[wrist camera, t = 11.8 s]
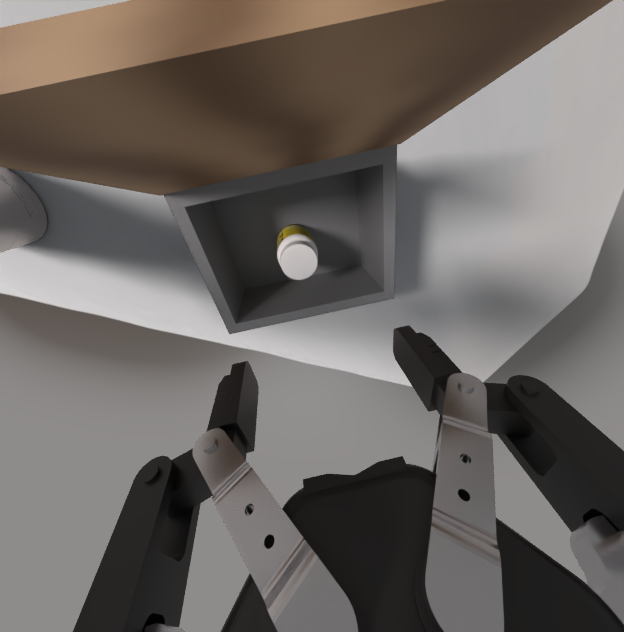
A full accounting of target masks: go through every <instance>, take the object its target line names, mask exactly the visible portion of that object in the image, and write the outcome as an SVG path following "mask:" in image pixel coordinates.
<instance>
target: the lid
mask: <svg viewBox="0 0 624 632" xmlns="http://www.w3.org/2000/svg"><path fill="white" fill-rule="evenodd" d="M611 1H612V0H131V1H126V2H122V3H117V4H112V5H107V6H103V7H98V8H93V9H88V10H84V11H79V12H74V13H69V14H65V15H60V16H55V17H50V18H46V19H41V20H36V21H31V22H27V23H22V24H17V25H12V26H8V27H3V28H0V167H4V168H10V169H15V170H21V171H26V172H32V173H38V174H43V175H49V176H54V177H60V178H65V179H71V180H76V181H82V182H88V183H93V184H99V185H104V186H110V187H115V188H121V189H127V190H132V191H138V192H143V193H149V194H154V195H164V194H169V193H174V192H178V191H183V190H187V189H192V188H197V187H201V186H206V185H211V184H215V183H220V182H225V181H229V180H234V179H239V178H243V177H248V176H253V175H257V174H262V173H267V172H271V171H276V170H281V169H285V168H290V167H295V166H299V165H304V164H308V163H313V162H318V161H322V160H327V159H332V158H336V157H341V156H346V155H350V154H355V153H360V152H364V151H369V150H374V149H378V148H383V147H388V146H392V145H397V144H401V143H402V142H404V141H405V140H407V139H408V138H410V137H411V136H413V135H414V134H416V133H417V132H419V131H420V130H422V129H423V128H425V127H426V126H428V125H429V124H430V123H432V122H433V121H435V120H436V119H438V118H439V117H441V116H442V115H444V114H445V113H447V112H448V111H450V110H451V109H453V108H454V107H456V106H457V105H459V104H460V103H462V102H463V101H465V100H466V99H467V98H469V97H470V96H472V95H473V94H475V93H476V92H478V91H479V90H481V89H482V88H484V87H485V86H487V85H488V84H490V83H491V82H493V81H494V80H496V79H497V78H499V77H500V76H501V75H503V74H504V73H506V72H507V71H509V70H510V69H512V68H513V67H515V66H516V65H518V64H519V63H521V62H522V61H524V60H525V59H527V58H528V57H530V56H531V55H533V54H534V53H536V52H537V51H538V50H540V49H541V48H543V47H544V46H546V45H547V44H549V43H550V42H552V41H553V40H555V39H556V38H558V37H559V36H561V35H562V34H564V33H565V32H567V31H568V30H570V29H571V28H572V27H574V26H575V25H577V24H578V23H580V22H581V21H583V20H584V19H586V18H587V17H589V16H590V15H592V14H593V13H595V12H596V11H598V10H599V9H601V8H602V7H604V6H605V5H607V4H608V3H609V2H611Z"/></svg>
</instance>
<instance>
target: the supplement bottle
mask: <svg viewBox="0 0 624 632" xmlns="http://www.w3.org/2000/svg"><path fill="white" fill-rule="evenodd" d="M277 259H278V262H279V264H280V266H281V268H282V270H283V272H284V273H285V274H286V275H287V276H288V277H290V278H292V279H295V280H302V279H306V278H308V277H310V276H311V275H312V274H313V273H314V272H315V270H316V268H317V264H318V251H317V247H316V244H315V243H314V241H313V238H312V236H311V234H310V232H309V231H308V229H307V228H305V227H304V226H302V225H300V224H289V225H287V226H285V227H284V228H282V230H281V231H280V232H279V234H278V237H277Z"/></svg>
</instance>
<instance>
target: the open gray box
mask: <svg viewBox="0 0 624 632" xmlns="http://www.w3.org/2000/svg"><path fill="white" fill-rule="evenodd" d="M396 166H397V145H392V146H388V147H383V148H378V149H374V150H369V151H364V152H360V153H355V154H350V155H346V156H341V157H336V158H332V159H327V160H322V161H318V162H313V163H308V164H304V165H299V166H295V167H290V168H285V169H281V170H276V171H271V172H267V173H262V174H257V175H253V176H248V177H243V178H239V179H234V180H229V181H225V182H220V183H215V184H211V185H206V186H201V187H197V188H192V189H187V190H183V191H178V192H174V193H169V194H164V197H165V199H166V201H167V203H168V205H169V207H170V209H171V212H172V214H173V216H174V218H175V220H176V222H177V224H178V226H179V228H180V231H181V233H182V235H183V237H184V239H185V241H186V243H187V245H188V247H189V250H190V252H191V254H192V256H193V258H194V260H195V262H196V264H197V266H198V269H199V271H200V273H201V275H202V277H203V279H204V281H205V283H206V285H207V288H208V290H209V292H210V294H211V296H212V298H213V300H214V302H215V304H216V307H217V309H218V311H219V313H220V315H221V317H222V319H223V321H224V323H225V326H226V328H227V330H228V332H229V334H233V333H237V332H242V331H246V330H251V329H255V328H260V327H265V326H269V325H274V324H278V323H283V322H287V321H292V320H297V319H301V318H306V317H310V316H315V315H320V314H324V313H329V312H333V311H338V310H342V309H347V308H352V307H356V306H361V305H365V304H370V303H374V302H379V301H384V300H388V299H393V298H394V278H395V222H396ZM289 224H300V225H302V226H304V227H305V228H307V229H308V231H309V232H310V234H311V236H312V238H313V241H314V243H315V244H316V247H317V251H318V264H317V268H316V270H315V272H314V273H313V274H312V275H311V276H310V277H308V278H306V279H302V280H295V279H292V278H290V277H288V276H287V275H286V274H285V273H284V272H283V270H282V268H281V266H280V264H279V262H278V259H277V237H278V234H279V232H280V231H281V230H282V228H284V227H285V226H287V225H289Z"/></svg>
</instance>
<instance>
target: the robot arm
mask: <svg viewBox="0 0 624 632" xmlns="http://www.w3.org/2000/svg"><path fill="white" fill-rule="evenodd" d="M46 229H47V217H46V212H45V210H44V207H43V205H42V203H41V201H40V200H39V198H38V197H37V195H36V194H35V193H34V191H33V190H32V189H31V188H30V187H29V186H28V184H26V183H25V182H24V181H23V180H22V179H21V178H20V177H19V176H18V175H16V174H15V173H13V172H12V171H11V170H9V169H8V168H4V167H0V252H4V251H7V250H10V249H13V248H17V247H20V246H23V245H26V244H30V243H33V242H35V241H37V240H39V239H40V238H41V237H42V236H43V235H44V234H45V231H46ZM393 352H394V356H395V359H396V361H397V362H398V364H399V366H400V367H401V369H402V370H403V372H404V373H405V375H406V377H407V378H408V380H409V381H410V383H411V385H412V386H413V388H414V389H415V391H416V392H417V394H418V395H419V397H420V399H421V400H422V402H423V404H424V405H425V407H426V408H427V410H428V411H433V410H437V411H438V412H439V414H440V418H439V425H438V432H437V440H436V447H435V454H434V460H433V466H432V472H431V471H430V470H427V469H425V468H423V467H419V466H416V465H411V464H406V463H405V461H404V459H403V457H402V456H401V457H397V458H393V459H389V460H384V461H380V462H377V463H376V464H374V465H372V466H370V467H369V468H367V469H365V470H364V471H362V472H360V473H359V474H356V475H339V474H325V475H320V476H316V477H312V478H307V479H304V480H303V484H304V488H302V489H301V490H299V491H298V492H297V493H296V494H294V495H293V496H292V497H291V498H290V499H289V500H288V501H287V503H286V504H285V505H284V507H283V508H281V507H280V505H279V504H278V503H277V501H276V500H275V498H274V497H273V496H272V495H271V493H270V492H269V491H268V489H267V488H266V486H265V485H264V484H263V482H262V481H261V480H260V478H259V477H258V475H257V474H256V473H255V471H254V470H253V469H252V467H251V466H250V465H249V463H247V461H246V453H248V452H252V451H254V444H255V431H256V418H257V404H258V383H257V380H256V378H255V375H254V373H253V371H252V369H251V366H250V364H249V362H248V361H245V362H241V363H236V364H233V365H232V369H231V374H230V375H227V376H225V377H224V378H223V379H222V381H221V382H220V384H219V386H218V390H217V395H216V398H215V403H214V405H213V409H212V413H211V417H210V421H209V425H208V428H207V431H206V432H205V433H204V434H203V435H202V436H200V438H199V439H198V440H197V441H196V443H195V445H194V448H193V449H191V450H189V451H188V452H186V453H184V454H182V455H180V456H178V457H177V458H175V459H173V460H170V459H169V458H168V457H166V456H160V457H157V458H155V459H152V460H151V461H149V462H148V463H147V464H146V465H145V466H143V467H142V469H141V470H140V471H139V472H138V474H137V475H136V477H135V479H134V481H133V484H132V486H131V489H130V491H129V494H128V496H127V499H126V501H125V504H124V506H123V509H122V511H121V514H120V516H119V519H118V521H117V524H116V526H115V529H114V531H113V534H112V536H111V539H110V541H109V543H108V546H107V549H106V551H105V554H104V556H103V559H102V561H101V563H100V566H99V568H98V571H97V573H96V576H95V578H94V581H93V583H92V586H91V588H90V591H89V593H88V596H87V598H86V601H85V603H84V606H83V608H82V610H81V613H80V616H79V618H78V620H77V623H76V625H75V628H74V630H73V632H185V631H184V630H183V629H182V628H179V624H180V618H181V612H182V606H183V601H184V595H185V589H186V584H187V578H188V572H189V566H190V561H191V555H192V549H193V543H194V537H195V532H196V526H197V520H198V515H199V509H200V503H201V502H203V501H205V500H206V499H208V498H210V497H211V496H213V501H214V504H215V506H216V508H217V510H218V512H219V514H220V515H221V518H222V519H223V522H224V523H225V525H226V527H227V529H228V531H229V533H230V535H231V537H232V539H233V541H234V543H235V545H236V547H237V548H238V550H239V552H240V554H241V556H242V558H243V560H244V562H245V564H246V566H247V568H248V570H249V571H250V574H249V576H248V578H247V580H246V582H245V584H244V586H243V588H242V590H241V592H240V594H239V596H238V598H237V600H236V602H235V604H234V606H233V608H232V610H231V612H230V614H229V616H228V618H227V620H226V622H225V624H224V626H223V628H222V630H221V632H624V451H623V450H622V449H621V448H619V447H618V446H617V445H616V444H615V443H613V441H611V440H610V439H609V438H608V437H607V436H606V435H604V434H603V433H602V432H601V431H600V430H599V429H597V428H596V427H595V426H594V425H593V424H591V423H590V422H589V421H588V420H587V419H586V418H585V417H583V416H582V415H581V414H580V413H579V412H578V411H577V410H575V409H574V408H573V407H572V406H571V405H570V404H568V403H567V402H566V401H565V400H564V399H563V398H561V397H560V396H559V395H558V394H557V393H556V392H554V391H553V390H552V389H551V388H550V387H549V386H547V385H546V384H545V383H543V382H541V381H540V380H538V379H535V378H533V377H529V376H523V375H517V376H513V377H511V378H510V379H509V380H508V382H507V384H496V383H483V382H482V381H481V380H479V379H478V378H476V377H475V376H472V375H470V374H466V373H462V372H461V370H460V369H459V368H458V367H457V366H456V365H455V364H454V363H453V362H452V361H451V360H450V359H449V357H448V356H447V355H446V354H445V353H444V352H443V351H442V350H441V349H440V348H439V347H438V346H437V344H436V343H435V342H434V341H433V340H432V339H431V338H430V337H428V336H427V335H425V334H423V333H417V334H416V332H415V331H414V330H413V329H412V328H411V327H410V326H404V327H399V328H395V329H394V337H393ZM491 433H494V434H497V435H498V436H499V437H500V439H501V440H502V441H503V442H504V444H505V445H506V446H507V448H508V449H509V451H510V452H511V453H512V454H513V456H514V457H515V458H516V460H517V461H518V462H519V464H520V465H521V466H522V468H523V469H524V470H525V471H526V473H527V474H528V475H529V477H530V478H531V479H532V481H533V482H534V483H535V484H536V486H537V487H538V489H539V490H540V491H541V492H542V494H543V495H544V496H545V498H546V499H547V500H548V502H549V503H550V504H551V505H552V507H553V508H554V509H555V511H556V512H557V513H558V515H559V516H560V517H561V519H562V520H563V521H564V523H565V524H566V525H567V526H568V528H569V529H570V530H571V532H572V534H571V536H570V544H571V548H572V551H573V553H574V555H575V557H576V559H577V560H578V563H579V566H580V567H581V569H582V570H583V571H584V573H585V576H586V579H587V584H588V585H587V584H586V583H585V582H583V581H582V580H581V579H580V578H578V577H577V576H575V575H574V574H573V573H572V572H570V571H569V570H567V569H566V568H565V567H563V566H562V565H561V564H559V563H558V562H556V561H555V560H553V559H552V558H551V557H550V556H548V555H547V554H545V553H544V552H543V551H541V550H540V549H538V548H537V547H536V546H534V545H533V544H532V543H530V542H529V541H528V540H526V539H525V538H523V537H522V536H521V535H519V534H518V533H516V532H515V531H514V530H513V529H511V528H510V527H508V526H507V525H506V524H504V523H503V522H502V521H500V520H499V519H497V518H496V515H495V514H496V513H495V490H494V465H493V441H492V434H491Z"/></svg>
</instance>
